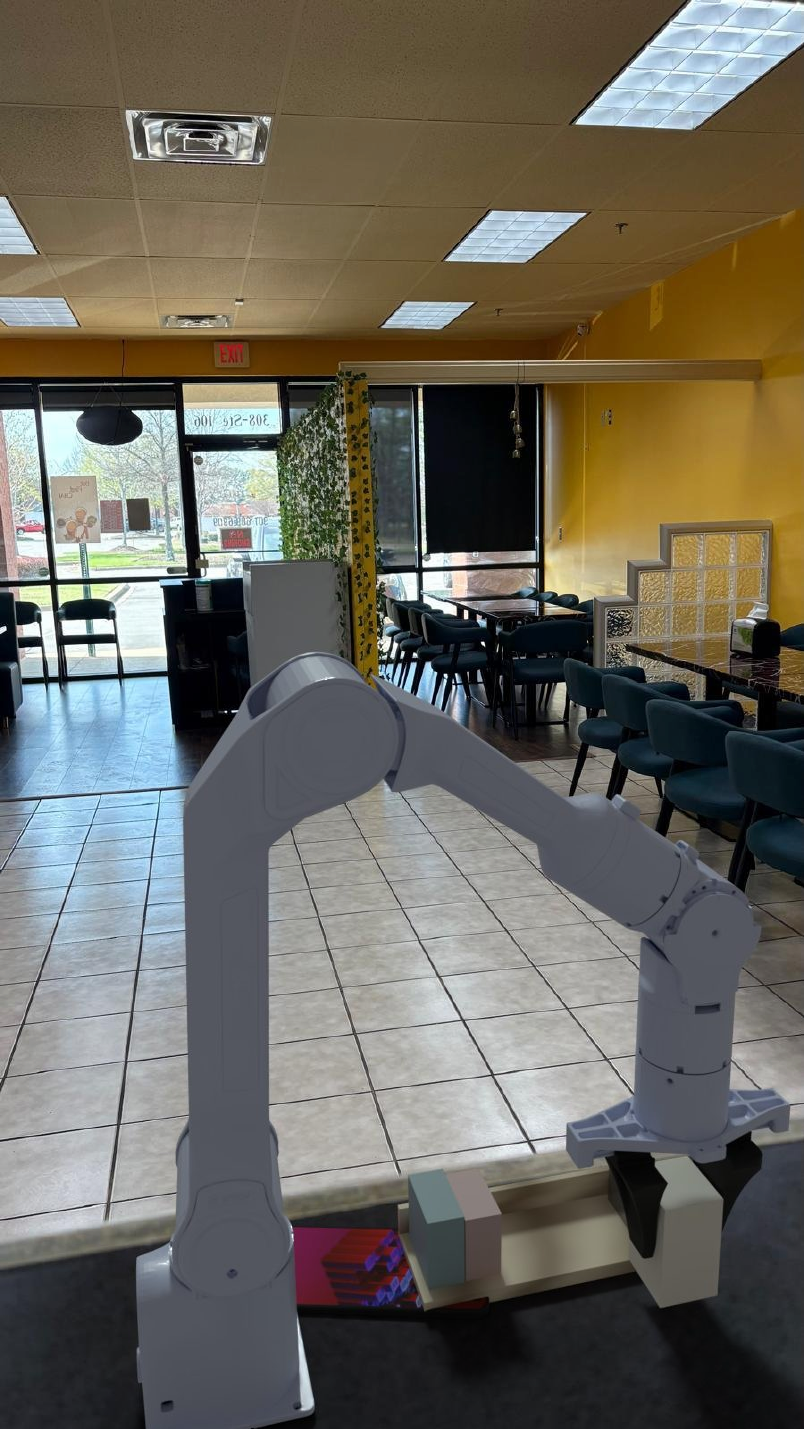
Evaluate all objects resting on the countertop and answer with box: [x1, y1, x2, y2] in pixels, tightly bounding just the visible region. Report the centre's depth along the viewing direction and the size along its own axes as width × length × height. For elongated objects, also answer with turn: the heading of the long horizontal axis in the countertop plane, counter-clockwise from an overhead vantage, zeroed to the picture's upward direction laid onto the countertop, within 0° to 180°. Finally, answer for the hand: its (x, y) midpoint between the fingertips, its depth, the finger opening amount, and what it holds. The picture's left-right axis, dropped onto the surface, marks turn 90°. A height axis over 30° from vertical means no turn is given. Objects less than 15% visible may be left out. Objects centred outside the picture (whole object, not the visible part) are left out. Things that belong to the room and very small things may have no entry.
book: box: [628, 1155, 723, 1309], centre depth 66 cm, size 4×4×7 cm
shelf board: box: [397, 1165, 637, 1312], centre depth 71 cm, size 18×7×3 cm, turn 104°
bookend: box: [608, 1168, 628, 1228], centre depth 72 cm, size 1×5×5 cm, turn 14°
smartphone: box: [292, 1225, 490, 1320], centre depth 70 cm, size 8×1×15 cm
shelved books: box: [407, 1168, 502, 1290], centre depth 69 cm, size 5×5×5 cm
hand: (673, 1240), depth 66 cm, fingers closed on book, 4 cm apart
